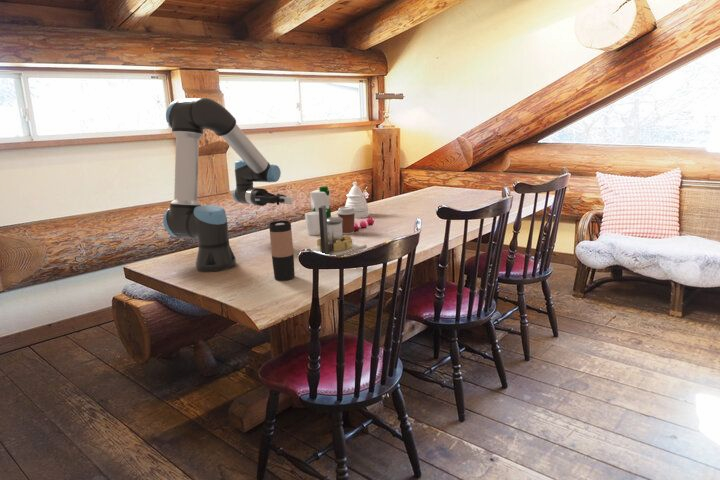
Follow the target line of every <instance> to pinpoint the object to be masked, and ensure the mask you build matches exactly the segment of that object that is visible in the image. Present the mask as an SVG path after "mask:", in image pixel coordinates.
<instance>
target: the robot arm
mask: <svg viewBox="0 0 720 480" xmlns="http://www.w3.org/2000/svg"><path fill="white" fill-rule="evenodd" d="M165 119H166V123H168V124H167V125H168V126H169V127H170V128H171V134H173V136H174V137H175V158H174V160H175V163H174V165H175V166H174V195H173V199H172V201H171V202H170V204H169V208H168V209H167V210H166V211H165V213H164V214H163V218H162V220H163V221H162V223H163V228H164V229H165V231H166V232H167V233H168V234H169V235H170V236H171V237H176V238H179V239H192V240H193V239H195V240H197V244H198V251H197V255H196V260H195V268H196V270H197V271H200V272H219V271H223V270H224V271H225V270H228V269H231V268H234V267H235V266H236V265H237V260H236V256H235V254H234V252H233V250H232V247H231V246H230V237H229V228H228V217H227V214H226V210H225V209H224V208H223V207H221V206H219V205H212V204H211V205H209V204H208V205H207V204H205V205H204V204H203V205H202V204H201V203H200V201H198V184H199V183H198V182H199V181H198V178H199V175H198V174H199V150H200V149H199V148H200V145H199V144H200V139H201V138H202V137H203V136H204V130H210V131H212V132H213V133H214V134H215V135H217V137H221V138H223V140H224V141H225V142H226V143H227V145H228V146H229V147H231V148H232V150H233V151H234V152H235V153H236V154H237V156H239V158H240V159H241V160H240V159H239V160H238V159H237V160H236V161H235V162H234V175H235V176H234V177H235V188H234V189H233V190H232V198H233V200H234V201H236V202H237V203H240V204H243V205H244V204H245V205H253V206H254V207H256V206H260V207H265V205H267V204H276V206H279V205H280V204H283V205H293V197H291V196H287V195H285V194H280V193H279V192H278V193H276V194H275V193H271V192H268V191H267V189H265V188H259V187H254V182H255V183H257V182H259V183H277V182H278V181H279V180H280V178H281V173H282V171H281V168H280V166H278V165H277V164H271V163H270V162H269V161H268V160H267V159H266V157H264V155H263V154H262V152H260V151H259V150H258V148H257V147H256V146H255V145H254V144H253V142H252V141H251V140H250V139H249V137H248V136H247V135H246V134H245V132H244V131H243V130H242V129H241V128H240V127H239V126H238V124H237V119H236V118H235V117H234V115H233V114H231V112H230V111H229V110H228V109H226V107H224V106H223V105H222V104H220V103H219V102H218V101H215V100H214V99H212V98H208V97H195V98H181V99H180V98H179V99H176V100H173V101H172V102H171V103H170V104H169V105H168V107H167V108H166V112H165Z"/></svg>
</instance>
